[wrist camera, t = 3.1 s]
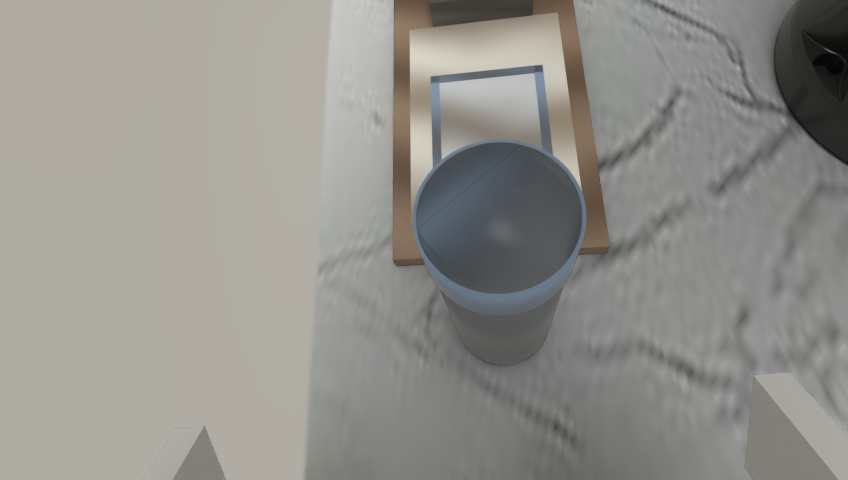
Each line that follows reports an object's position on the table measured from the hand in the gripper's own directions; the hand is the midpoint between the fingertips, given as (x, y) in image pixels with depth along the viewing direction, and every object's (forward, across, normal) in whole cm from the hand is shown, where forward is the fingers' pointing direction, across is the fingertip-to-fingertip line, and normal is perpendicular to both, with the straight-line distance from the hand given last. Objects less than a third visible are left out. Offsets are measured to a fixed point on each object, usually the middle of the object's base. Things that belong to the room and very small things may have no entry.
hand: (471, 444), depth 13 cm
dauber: (+13, +1, -5) cm, 14 cm away
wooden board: (+24, +2, +5) cm, 24 cm away
